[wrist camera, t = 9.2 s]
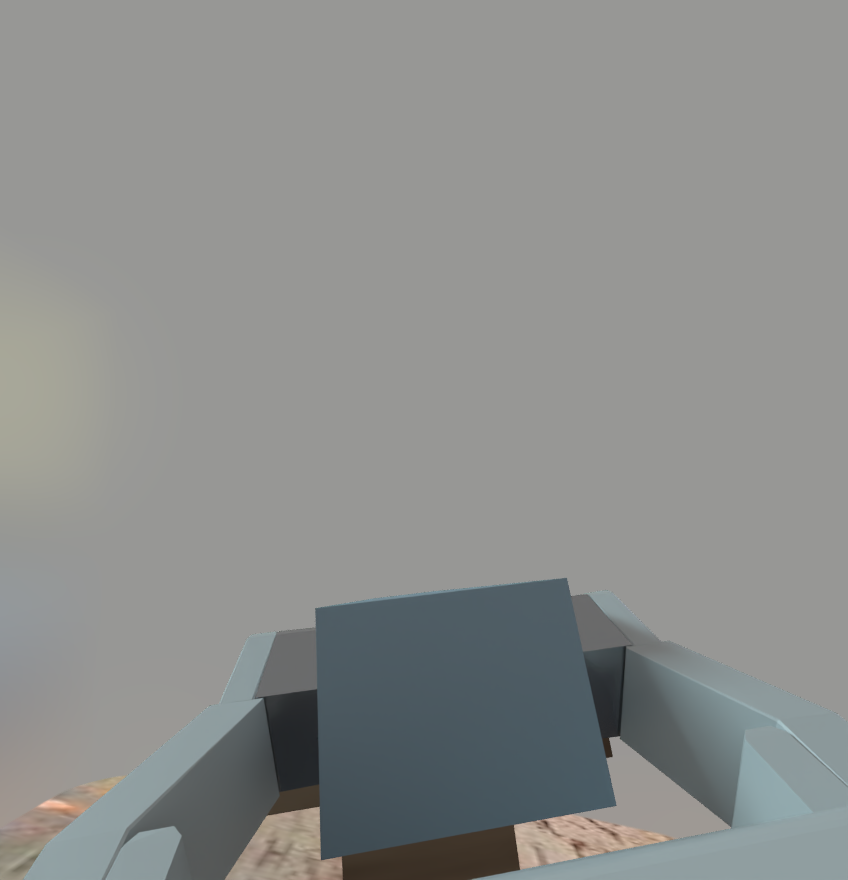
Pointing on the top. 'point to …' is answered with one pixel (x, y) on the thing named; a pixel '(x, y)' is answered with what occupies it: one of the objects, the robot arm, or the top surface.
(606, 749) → the shelf stand
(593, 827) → the top surface
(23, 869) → the top surface
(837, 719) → the robot arm
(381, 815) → the batten
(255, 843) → the top surface
